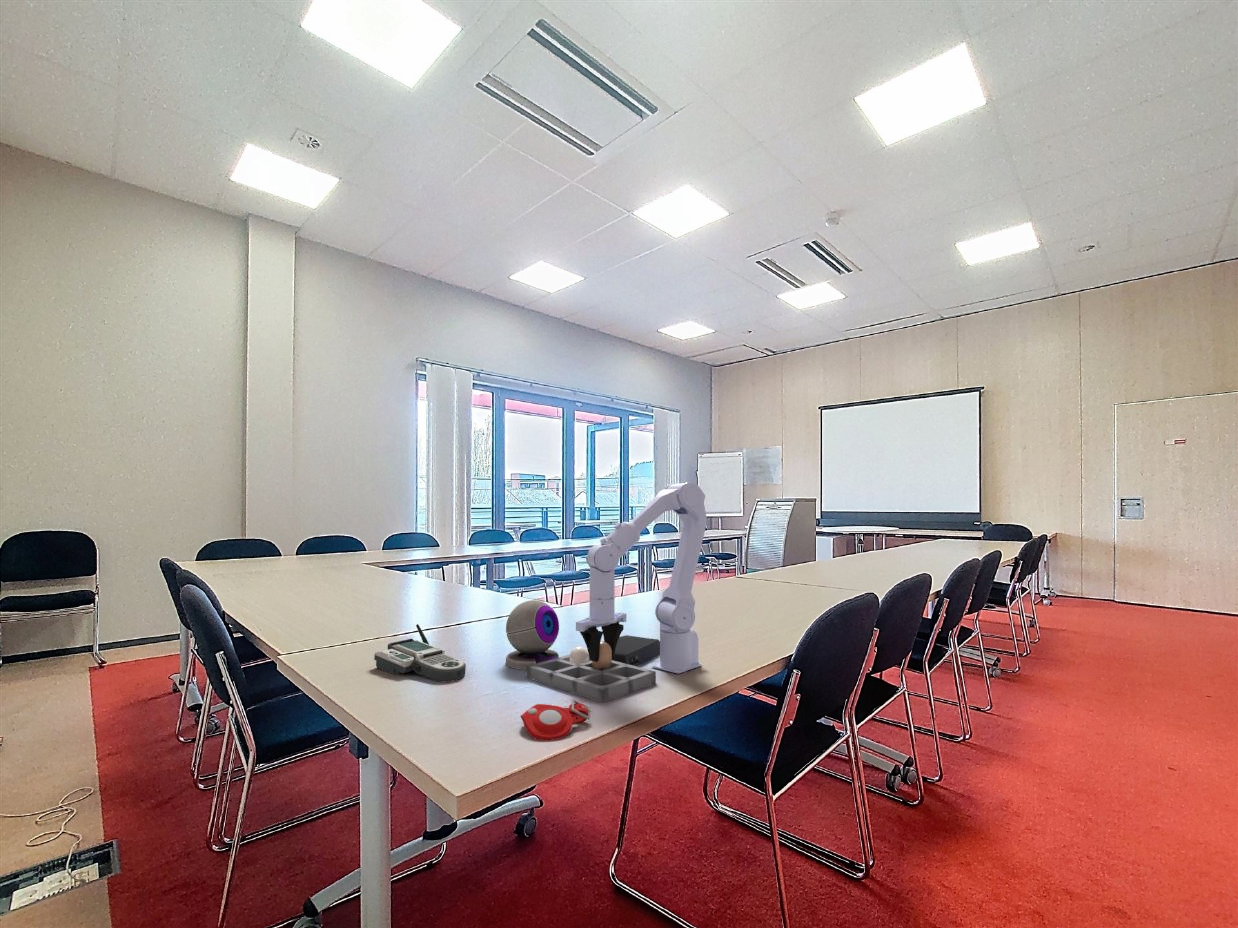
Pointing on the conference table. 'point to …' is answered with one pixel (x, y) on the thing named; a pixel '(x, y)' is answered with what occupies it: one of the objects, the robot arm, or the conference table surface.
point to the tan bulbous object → (604, 657)
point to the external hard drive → (636, 650)
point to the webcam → (531, 634)
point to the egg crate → (591, 678)
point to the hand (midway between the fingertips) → (601, 658)
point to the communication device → (419, 660)
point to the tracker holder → (554, 720)
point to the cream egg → (579, 655)
